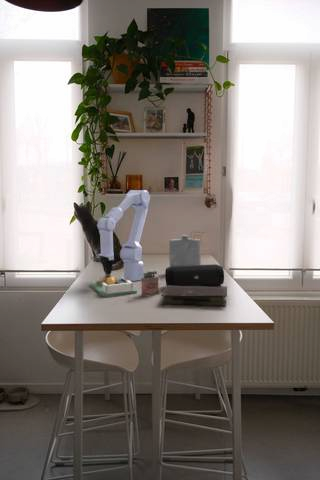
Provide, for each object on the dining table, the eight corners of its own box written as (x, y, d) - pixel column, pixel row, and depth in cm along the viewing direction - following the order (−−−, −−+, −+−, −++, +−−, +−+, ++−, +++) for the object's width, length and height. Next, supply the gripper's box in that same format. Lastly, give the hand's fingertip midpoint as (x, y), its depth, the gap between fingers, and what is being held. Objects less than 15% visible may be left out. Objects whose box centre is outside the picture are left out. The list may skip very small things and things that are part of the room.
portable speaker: (168, 290, 205) (167, 268, 204) (165, 285, 215) (164, 264, 214) (224, 288, 208) (224, 266, 207) (219, 283, 218) (219, 262, 216)
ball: (113, 284, 214) (113, 275, 214) (116, 286, 210) (116, 277, 210) (105, 285, 213) (105, 276, 212) (107, 287, 209) (107, 278, 208)
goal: (128, 287, 207) (128, 280, 206) (133, 290, 201) (132, 282, 201) (102, 290, 202) (102, 282, 202) (106, 293, 197) (106, 285, 196)
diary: (168, 295, 200) (167, 284, 199) (227, 297, 195) (227, 285, 195) (161, 307, 181) (160, 294, 181) (225, 308, 177) (225, 295, 177)
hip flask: (169, 274, 240) (169, 235, 237) (170, 272, 244) (169, 234, 241) (200, 274, 239) (200, 235, 236) (200, 272, 243) (200, 234, 240)
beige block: (112, 281, 219) (112, 264, 218) (115, 283, 215) (115, 266, 214) (100, 282, 217) (99, 266, 216) (103, 284, 213) (102, 267, 212)
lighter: (143, 296, 196) (142, 273, 194) (140, 294, 199) (139, 271, 197) (160, 293, 199) (160, 271, 198) (156, 292, 202) (156, 269, 201)
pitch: (120, 282, 223) (120, 278, 222) (136, 293, 202) (136, 288, 201) (90, 285, 217) (89, 281, 217) (103, 296, 196) (103, 292, 196)
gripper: (94, 242, 219) (95, 271, 221) (102, 246, 205) (103, 277, 207) (108, 241, 221) (109, 269, 223) (117, 245, 208) (118, 275, 210)
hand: (107, 273), depth 215 cm, fingers closed on beige block, 2 cm apart
